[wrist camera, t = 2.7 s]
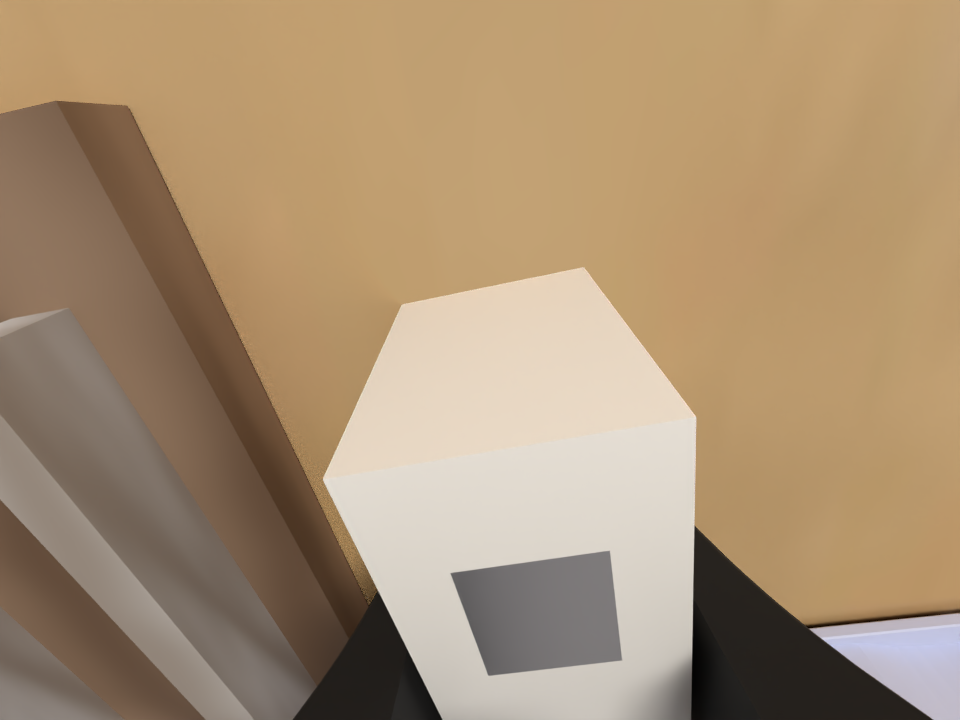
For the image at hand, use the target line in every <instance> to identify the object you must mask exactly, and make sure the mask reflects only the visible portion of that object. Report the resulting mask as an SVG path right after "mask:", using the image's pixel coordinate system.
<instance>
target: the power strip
mask: <svg viewBox="0 0 960 720" xmlns="http://www.w3.org/2000/svg"><path fill="white" fill-rule="evenodd" d="M695 457H696V416H695V415H694V413H693V412H692V411H691V409H690V408H689V407H688V405H687V404H686V403H685V401H684V400H683V399H682V397H681V396H680V395H679V393H678V392H677V391H676V389H675V388H674V387H673V385H672V384H671V383H670V381H669V380H668V379H667V377H666V376H665V375H664V373H663V372H662V371H661V369H660V368H659V367H658V365H657V364H656V363H655V361H654V360H653V359H652V357H651V356H650V355H649V353H648V352H647V351H646V349H645V348H644V347H643V346H642V344H641V343H640V342H639V340H638V339H637V338H636V336H635V335H634V334H633V332H632V331H631V330H630V328H629V327H628V326H627V324H626V323H625V322H624V320H623V319H622V318H621V316H620V315H619V314H618V312H617V311H616V310H615V308H614V307H613V306H612V304H611V303H610V302H609V300H608V299H607V298H606V296H605V295H604V294H603V292H602V291H601V290H600V288H599V287H598V286H597V284H596V283H595V282H594V280H593V279H592V278H591V276H590V275H589V274H588V272H587V271H586V270H585V268H584V267H583V268H578V269H573V270H568V271H563V272H558V273H553V274H549V275H544V276H539V277H534V278H529V279H524V280H519V281H514V282H509V283H505V284H500V285H495V286H490V287H485V288H480V289H475V290H470V291H466V292H461V293H456V294H451V295H446V296H441V297H436V298H431V299H427V300H422V301H417V302H412V303H407V304H402V305H401V308H400V310H399V312H398V314H397V316H396V319H395V321H394V323H393V325H392V327H391V330H390V332H389V334H388V336H387V339H386V341H385V343H384V345H383V347H382V350H381V352H380V354H379V356H378V358H377V361H376V363H375V365H374V367H373V369H372V372H371V374H370V376H369V378H368V380H367V383H366V385H365V387H364V389H363V392H362V394H361V396H360V398H359V400H358V403H357V405H356V407H355V409H354V411H353V414H352V416H351V418H350V420H349V422H348V425H347V427H346V429H345V431H344V434H343V436H342V438H341V440H340V442H339V445H338V447H337V449H336V451H335V453H334V456H333V458H332V460H331V462H330V464H329V467H328V469H327V471H326V473H325V475H324V478H323V481H324V483H325V485H326V487H327V489H328V491H329V493H330V495H331V497H332V499H333V501H334V503H335V505H336V507H337V509H338V511H339V513H340V515H341V517H342V519H343V521H344V523H345V525H346V527H347V529H348V531H349V533H350V535H351V537H352V539H353V541H354V543H355V545H356V547H357V549H358V551H359V553H360V555H361V557H362V559H363V561H364V563H365V565H366V567H367V569H368V571H369V573H370V575H371V577H372V579H373V581H374V583H375V585H376V587H377V589H378V591H379V593H380V595H381V597H382V599H383V601H384V603H385V605H386V607H387V609H388V611H389V613H390V615H391V617H392V619H393V621H394V623H395V625H396V627H397V629H398V631H399V633H400V635H401V637H402V639H403V641H404V643H405V646H406V648H407V650H408V652H409V654H410V656H411V658H412V660H413V662H414V664H415V666H416V668H417V670H418V672H419V674H420V676H421V678H422V680H423V682H424V684H425V686H426V688H427V690H428V692H429V694H430V696H431V698H432V700H433V702H434V704H435V706H436V708H437V710H438V712H439V714H440V716H441V718H442V720H691V692H692V633H693V574H694V516H695Z"/></svg>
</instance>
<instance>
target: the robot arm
mask: <svg viewBox="0 0 960 720" xmlns="http://www.w3.org/2000/svg"><path fill="white" fill-rule="evenodd" d="M293 720H442V718H441V716H440V714H439V712H438V710H437V708H436V706H435V704H434V702H433V700H432V698H431V696H430V694H429V692H428V690H427V688H426V686H425V684H424V682H423V680H422V678H421V676H420V674H419V672H418V670H417V668H416V666H415V664H414V662H413V660H412V658H411V656H410V654H409V652H408V650H407V648H406V646H405V643H404V641H403V639H402V637H401V635H400V633H399V631H398V629H397V627H396V625H395V623H394V621H393V619H392V617H391V615H390V613H389V611H388V609H387V607H386V605H385V603H384V601H383V599H382V597H381V595H380V593H379V591H378V592H377V593H376V595H375V597H374V599H373V600H372V602H371V604H370V605H369V607H368V609H367V610H366V612H365V614H364V615H363V617H362V619H361V620H360V622H359V624H358V625H357V627H356V629H355V630H354V632H353V634H352V635H351V637H350V638H349V640H348V642H347V643H346V645H345V646H344V648H343V649H342V651H341V652H340V654H339V655H338V657H337V658H336V660H335V661H334V663H333V664H332V666H331V667H330V669H329V670H328V672H327V673H326V674H325V676H324V677H323V679H322V680H321V682H320V683H319V684H318V686H317V687H316V689H315V690H314V691H313V693H312V694H311V695H310V697H309V698H308V699H307V701H306V702H305V703H304V705H303V706H302V708H301V709H300V710H299V712H298V713H297V714H296V716H295V717H294V718H293ZM691 720H960V613H953V614H943V615H934V616H924V617H914V618H905V619H895V620H885V621H876V622H866V623H856V624H847V625H837V626H827V627H818V628H808V627H806V626H805V625H804V624H803V623H801V622H800V621H799V620H798V619H796V618H795V617H794V616H793V615H791V614H790V613H789V612H788V611H787V610H785V609H784V608H783V607H782V606H781V605H779V604H778V603H777V602H776V601H775V600H774V599H772V598H771V597H770V596H769V595H768V594H767V593H765V592H764V591H763V590H762V589H761V588H760V587H759V586H757V585H756V584H755V583H754V582H753V581H752V580H751V579H750V578H749V577H747V576H746V575H745V574H744V573H743V572H742V571H741V570H740V569H739V568H738V567H736V566H735V565H734V564H733V563H732V562H731V561H730V560H729V559H728V558H727V557H726V556H725V555H724V554H723V553H722V552H721V551H720V550H719V549H718V548H717V547H716V546H715V545H714V544H713V543H712V542H711V541H709V540H708V539H707V538H706V537H705V536H704V535H703V534H702V533H701V532H700V531H699V530H698V529H697V528H696V526H695V525H694V574H693V633H692V692H691Z"/></svg>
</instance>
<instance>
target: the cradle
mask: <svg viewBox="0 0 960 720" xmlns="http://www.w3.org/2000/svg"><path fill="white" fill-rule="evenodd" d="M368 607H369V606H368V604H367V602H366V600H365V598H364V596H363V594H362V592H361V590H360V588H359V586H358V583H357V581H356V579H355V577H354V575H353V573H352V571H351V569H350V567H349V565H348V563H347V561H346V559H345V556H344V554H343V552H342V550H341V548H340V546H339V544H338V542H337V540H336V538H335V536H334V534H333V532H332V530H331V527H330V525H329V523H328V521H327V519H326V517H325V515H324V513H323V511H322V509H321V507H320V505H319V503H318V500H317V498H316V496H315V494H314V492H313V490H312V488H311V486H310V484H309V482H308V480H307V478H306V476H305V473H304V471H303V469H302V467H301V465H300V463H299V461H298V459H297V457H296V455H295V453H294V451H293V449H292V446H291V444H290V442H289V440H288V438H287V436H286V434H285V432H284V430H283V428H282V426H281V424H280V422H279V419H278V417H277V415H276V413H275V411H274V409H273V407H272V405H271V403H270V401H269V399H268V397H267V395H266V392H265V390H264V388H263V386H262V384H261V382H260V380H259V378H258V376H257V374H256V372H255V370H254V368H253V365H252V363H251V361H250V359H249V357H248V355H247V353H246V351H245V349H244V347H243V345H242V343H241V341H240V338H239V336H238V334H237V332H236V330H235V328H234V326H233V324H232V322H231V320H230V318H229V316H228V314H227V311H226V309H225V307H224V305H223V303H222V301H221V299H220V297H219V295H218V293H217V291H216V289H215V287H214V284H213V282H212V280H211V278H210V276H209V274H208V272H207V270H206V268H205V266H204V264H203V262H202V260H201V258H200V255H199V253H198V251H197V249H196V247H195V245H194V243H193V241H192V239H191V237H190V235H189V233H188V231H187V228H186V226H185V224H184V222H183V220H182V218H181V216H180V214H179V212H178V210H177V208H176V206H175V204H174V201H173V199H172V197H171V195H170V193H169V191H168V189H167V187H166V185H165V183H164V181H163V179H162V177H161V174H160V172H159V170H158V168H157V166H156V164H155V162H154V160H153V158H152V156H151V154H150V152H149V150H148V147H147V145H146V143H145V141H144V139H143V137H142V135H141V133H140V131H139V129H138V127H137V125H136V123H135V120H134V118H133V116H132V114H131V112H130V110H129V108H128V106H122V105H108V104H93V103H79V102H64V101H53V102H49V103H45V104H41V105H36V106H32V107H28V108H23V109H19V110H15V111H11V112H6V113H2V114H0V720H293V718H294V717H295V716H296V714H297V713H298V712H299V710H300V709H301V708H302V706H303V705H304V703H305V702H306V701H307V699H308V698H309V697H310V695H311V694H312V693H313V691H314V690H315V689H316V687H317V686H318V684H319V683H320V682H321V680H322V679H323V677H324V676H325V674H326V673H327V672H328V670H329V669H330V667H331V666H332V664H333V663H334V661H335V660H336V658H337V657H338V655H339V654H340V652H341V651H342V649H343V648H344V646H345V645H346V643H347V642H348V640H349V638H350V637H351V635H352V634H353V632H354V630H355V629H356V627H357V625H358V624H359V622H360V620H361V619H362V617H363V615H364V614H365V612H366V610H367V609H368Z"/></svg>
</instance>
